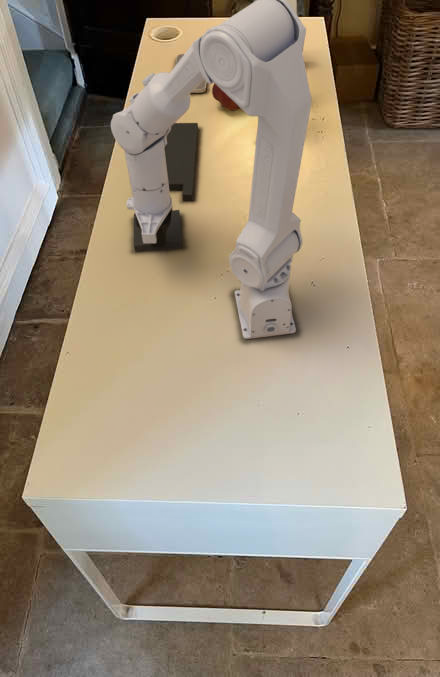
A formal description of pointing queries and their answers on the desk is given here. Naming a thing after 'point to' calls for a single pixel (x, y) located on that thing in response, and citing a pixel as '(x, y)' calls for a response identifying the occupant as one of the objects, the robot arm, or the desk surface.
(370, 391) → the desk surface
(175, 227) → the charcoal pad
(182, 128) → the black pad
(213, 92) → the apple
